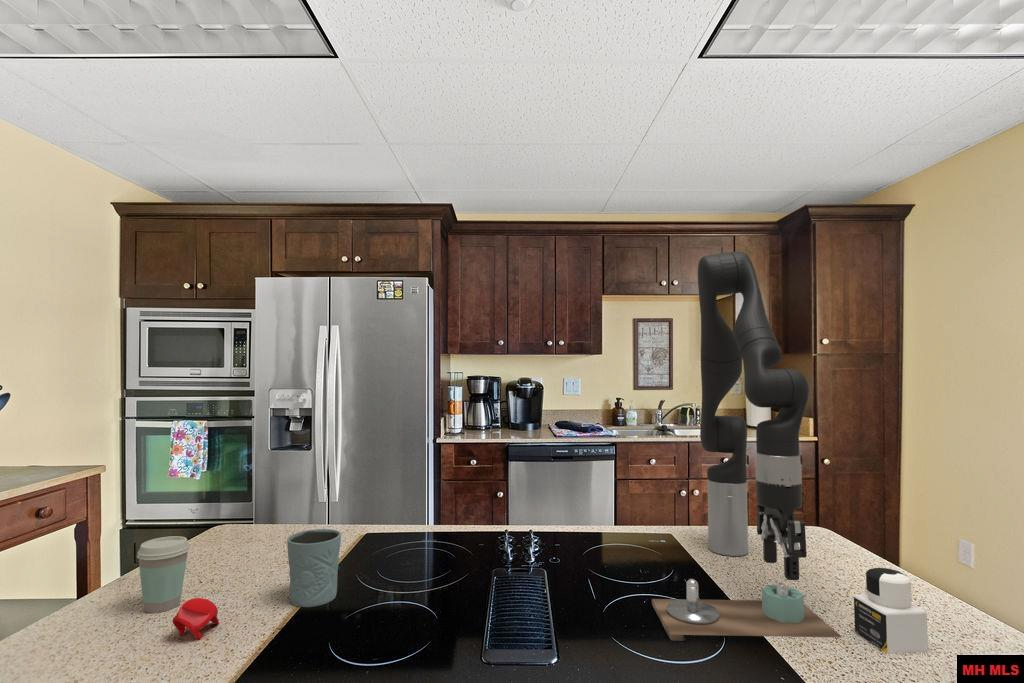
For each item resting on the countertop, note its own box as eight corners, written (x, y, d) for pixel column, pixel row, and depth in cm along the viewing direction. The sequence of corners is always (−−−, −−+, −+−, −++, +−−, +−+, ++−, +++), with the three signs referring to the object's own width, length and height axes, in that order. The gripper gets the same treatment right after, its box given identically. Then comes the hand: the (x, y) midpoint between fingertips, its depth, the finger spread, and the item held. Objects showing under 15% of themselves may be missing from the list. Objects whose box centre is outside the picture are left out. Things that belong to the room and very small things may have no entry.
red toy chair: (191, 628, 87) (222, 597, 92) (164, 611, 89) (195, 581, 94) (201, 653, 92) (230, 622, 97) (175, 637, 94) (204, 607, 98)
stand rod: (775, 612, 98) (774, 581, 99) (785, 612, 98) (784, 581, 99) (780, 616, 97) (779, 585, 97) (790, 617, 97) (789, 585, 97)
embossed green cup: (300, 613, 100) (302, 547, 101) (276, 598, 107) (277, 535, 107) (350, 596, 108) (351, 535, 108) (324, 583, 114) (325, 525, 115)
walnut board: (651, 604, 104) (651, 598, 104) (800, 606, 103) (800, 600, 103) (670, 640, 90) (670, 634, 90) (842, 643, 89) (842, 637, 89)
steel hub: (661, 602, 103) (661, 569, 103) (709, 603, 102) (709, 570, 103) (674, 624, 94) (673, 589, 94) (727, 625, 93) (726, 589, 94)
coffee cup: (198, 600, 106) (200, 537, 106) (157, 619, 98) (159, 551, 98) (166, 594, 108) (168, 533, 109) (123, 612, 100) (125, 546, 101)
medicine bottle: (854, 637, 91) (851, 564, 92) (893, 635, 92) (891, 563, 93) (886, 660, 84) (883, 580, 85) (929, 658, 85) (926, 579, 85)
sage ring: (758, 606, 101) (757, 584, 101) (792, 607, 101) (791, 585, 101) (773, 622, 94) (772, 598, 95) (809, 623, 94) (808, 599, 95)
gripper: (742, 472, 106) (744, 557, 105) (774, 486, 92) (777, 585, 91) (781, 472, 106) (783, 558, 105) (820, 487, 92) (823, 586, 90)
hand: (780, 570), depth 98 cm, fingers open, 8 cm apart
